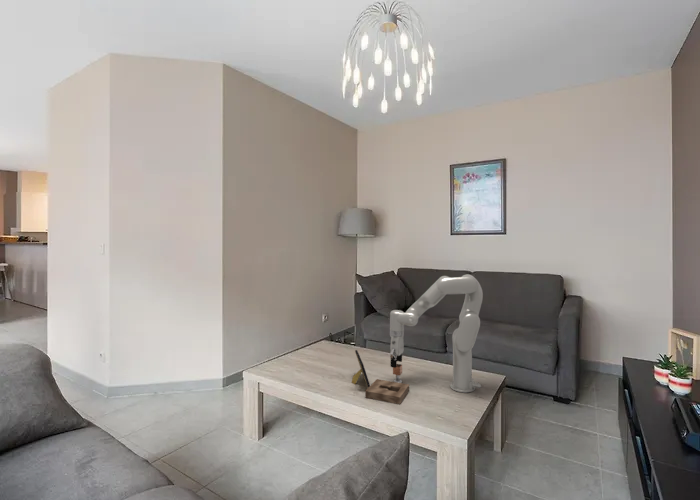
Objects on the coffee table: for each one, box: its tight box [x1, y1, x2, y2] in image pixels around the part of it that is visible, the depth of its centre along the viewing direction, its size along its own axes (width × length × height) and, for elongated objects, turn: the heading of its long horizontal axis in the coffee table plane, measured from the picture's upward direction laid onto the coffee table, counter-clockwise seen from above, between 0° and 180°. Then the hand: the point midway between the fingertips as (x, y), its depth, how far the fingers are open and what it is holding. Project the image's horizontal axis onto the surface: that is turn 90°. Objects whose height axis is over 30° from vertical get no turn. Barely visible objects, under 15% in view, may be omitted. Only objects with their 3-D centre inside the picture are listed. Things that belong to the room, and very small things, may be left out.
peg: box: [392, 363, 403, 383], centre depth 192 cm, size 4×4×10 cm
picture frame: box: [351, 349, 371, 389], centre depth 194 cm, size 23×9×15 cm, turn 7°
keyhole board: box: [364, 378, 410, 405], centre depth 179 cm, size 18×16×4 cm
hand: (396, 364), depth 192 cm, fingers open, 9 cm apart
